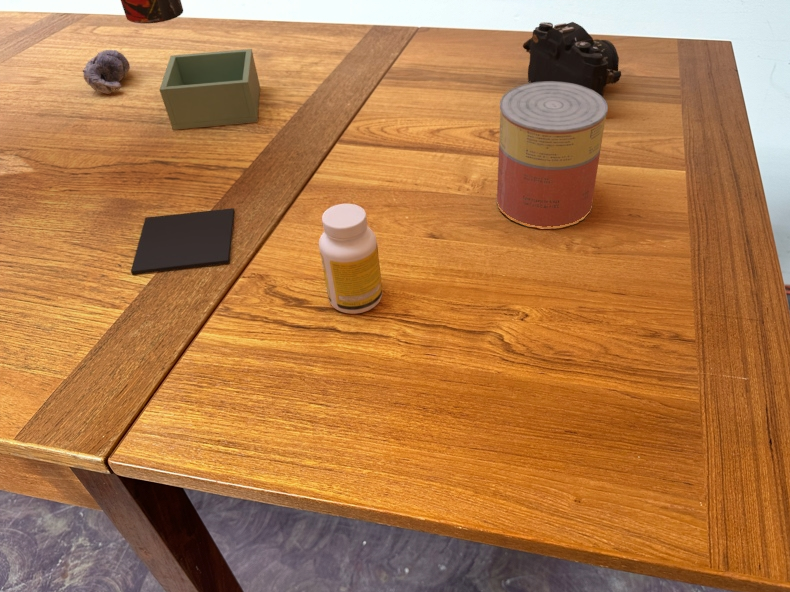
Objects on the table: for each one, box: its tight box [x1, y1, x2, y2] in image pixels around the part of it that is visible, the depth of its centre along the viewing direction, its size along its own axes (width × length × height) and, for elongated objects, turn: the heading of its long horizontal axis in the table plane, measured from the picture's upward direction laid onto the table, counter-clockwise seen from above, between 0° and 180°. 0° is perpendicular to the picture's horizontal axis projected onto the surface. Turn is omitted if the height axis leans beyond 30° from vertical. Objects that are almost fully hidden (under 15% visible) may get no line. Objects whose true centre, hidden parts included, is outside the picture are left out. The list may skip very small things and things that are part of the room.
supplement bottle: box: [318, 203, 383, 315], centre depth 63 cm, size 5×5×10 cm
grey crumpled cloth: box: [82, 49, 131, 95], centre depth 102 cm, size 5×5×10 cm
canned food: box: [496, 81, 609, 227], centre depth 74 cm, size 11×11×12 cm
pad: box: [130, 207, 236, 276], centre depth 74 cm, size 10×10×1 cm
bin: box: [159, 48, 261, 131], centre depth 95 cm, size 12×12×6 cm
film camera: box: [522, 21, 622, 98], centre depth 95 cm, size 18×12×10 cm
